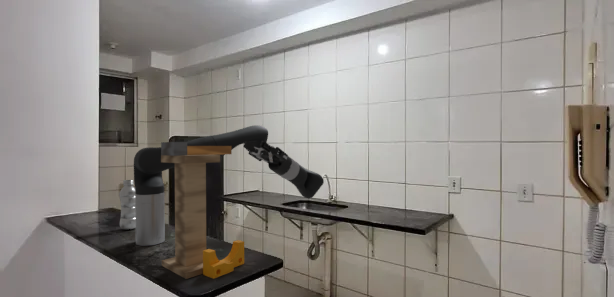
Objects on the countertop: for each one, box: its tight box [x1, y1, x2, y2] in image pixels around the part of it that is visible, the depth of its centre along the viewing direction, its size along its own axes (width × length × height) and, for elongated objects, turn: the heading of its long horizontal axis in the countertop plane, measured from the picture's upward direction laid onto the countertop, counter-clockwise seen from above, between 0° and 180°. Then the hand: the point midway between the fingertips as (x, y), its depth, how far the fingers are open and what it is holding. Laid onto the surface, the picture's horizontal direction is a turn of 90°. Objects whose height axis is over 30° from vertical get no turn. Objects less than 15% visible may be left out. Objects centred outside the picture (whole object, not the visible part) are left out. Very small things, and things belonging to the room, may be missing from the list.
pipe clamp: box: [202, 239, 245, 279], centre depth 88 cm, size 12×4×6 cm, turn 144°
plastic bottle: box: [118, 179, 136, 231], centre depth 133 cm, size 6×7×20 cm
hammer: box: [160, 141, 232, 156], centre depth 93 cm, size 8×19×4 cm, turn 136°
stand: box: [161, 155, 221, 280], centre depth 90 cm, size 14×10×31 cm
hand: (252, 143), depth 107 cm, fingers open, 8 cm apart
